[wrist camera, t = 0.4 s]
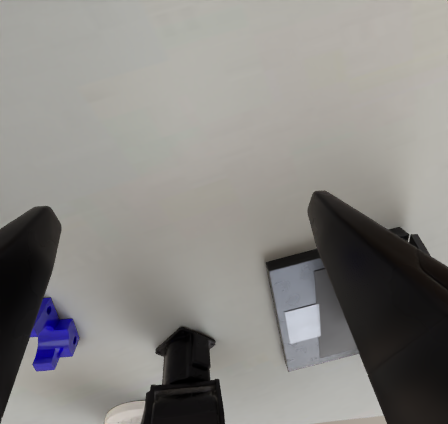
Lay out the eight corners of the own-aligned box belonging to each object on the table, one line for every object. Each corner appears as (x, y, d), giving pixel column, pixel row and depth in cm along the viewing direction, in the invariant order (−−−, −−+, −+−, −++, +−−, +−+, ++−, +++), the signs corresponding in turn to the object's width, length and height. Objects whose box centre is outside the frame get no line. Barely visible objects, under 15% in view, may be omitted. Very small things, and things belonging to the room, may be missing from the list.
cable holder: (79, 337, 34) (67, 368, 31) (51, 339, 34) (36, 371, 31) (64, 296, 30) (48, 326, 27) (32, 298, 30) (12, 329, 26)
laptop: (285, 362, 44) (288, 372, 43) (265, 262, 32) (269, 272, 30) (381, 337, 44) (388, 346, 42) (399, 226, 31) (410, 234, 30)
